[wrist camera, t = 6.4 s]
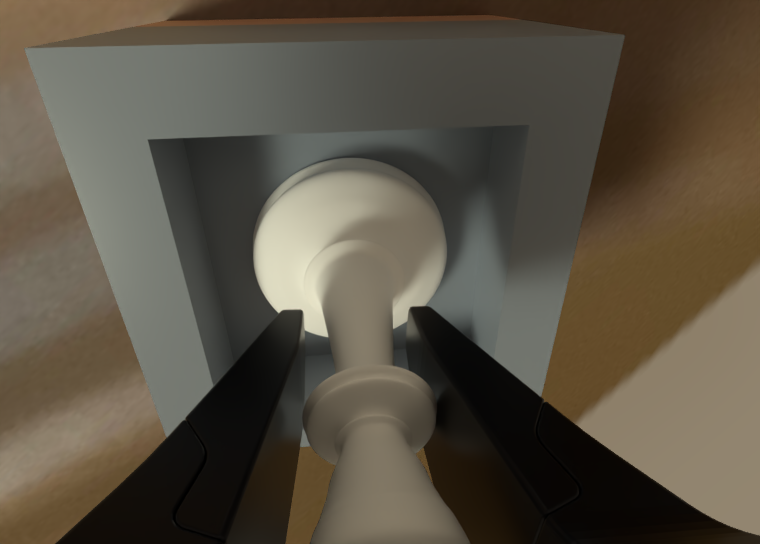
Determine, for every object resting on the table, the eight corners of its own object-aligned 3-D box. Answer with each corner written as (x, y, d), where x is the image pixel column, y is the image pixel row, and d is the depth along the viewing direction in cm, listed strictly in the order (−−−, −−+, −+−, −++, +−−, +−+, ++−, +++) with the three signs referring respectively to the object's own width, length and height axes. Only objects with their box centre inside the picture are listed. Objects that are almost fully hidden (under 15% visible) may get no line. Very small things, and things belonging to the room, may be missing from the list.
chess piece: (243, 313, 13) (92, 960, 4) (266, 136, 10) (29, 789, 2) (414, 336, 14) (566, 888, 5) (470, 180, 12) (903, 722, 3)
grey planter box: (463, 278, 20) (534, 425, 13) (226, 294, 19) (174, 458, 13) (488, 14, 15) (625, 34, 8) (167, 20, 14) (24, 48, 7)
